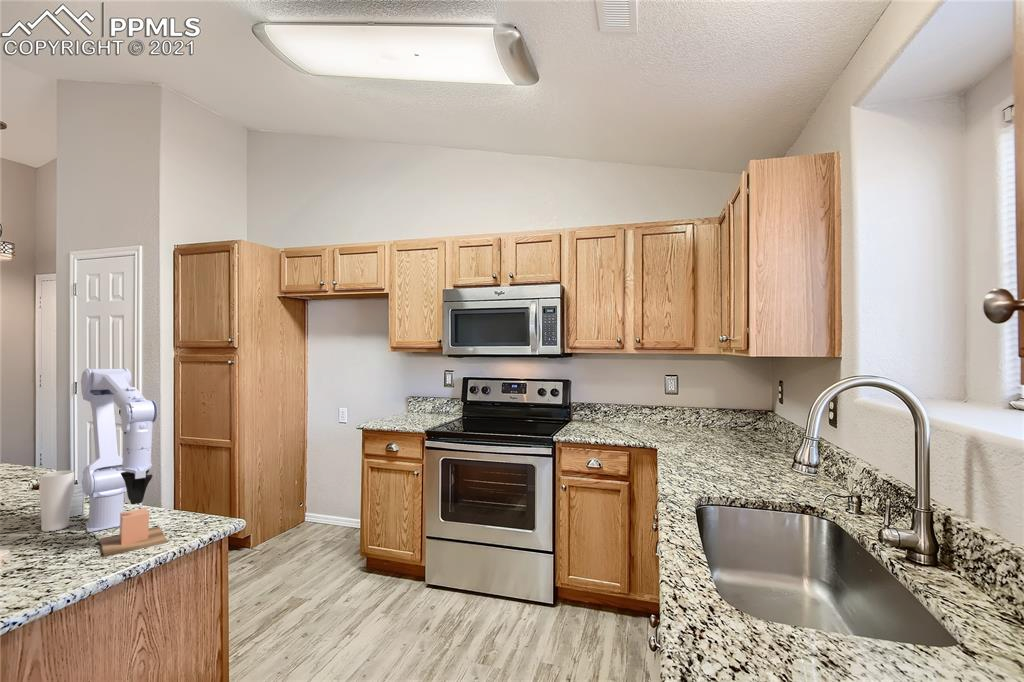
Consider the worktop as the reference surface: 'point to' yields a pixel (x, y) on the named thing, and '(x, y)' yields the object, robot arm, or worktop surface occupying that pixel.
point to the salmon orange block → (134, 526)
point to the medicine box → (77, 501)
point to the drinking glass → (55, 499)
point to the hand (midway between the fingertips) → (135, 501)
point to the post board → (114, 546)
